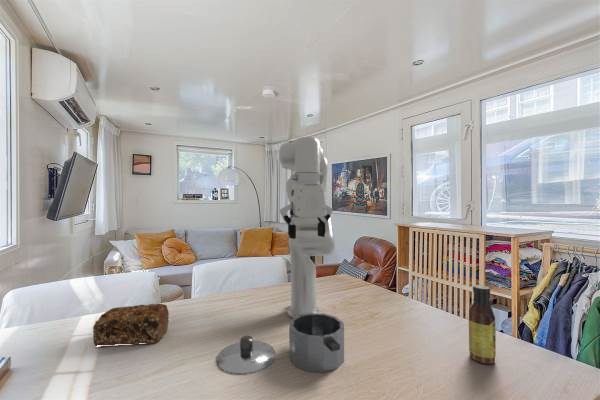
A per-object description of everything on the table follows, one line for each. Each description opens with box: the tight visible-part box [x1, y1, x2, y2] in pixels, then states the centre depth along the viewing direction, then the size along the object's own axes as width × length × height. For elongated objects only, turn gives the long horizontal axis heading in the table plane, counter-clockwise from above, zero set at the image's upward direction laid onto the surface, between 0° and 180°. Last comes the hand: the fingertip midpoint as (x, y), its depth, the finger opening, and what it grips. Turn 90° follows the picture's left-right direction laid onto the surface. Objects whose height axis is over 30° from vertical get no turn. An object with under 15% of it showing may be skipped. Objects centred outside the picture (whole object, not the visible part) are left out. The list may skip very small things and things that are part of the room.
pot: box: [288, 312, 345, 374], centre depth 81 cm, size 20×15×9 cm
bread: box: [92, 303, 170, 347], centre depth 91 cm, size 19×11×10 cm, turn 97°
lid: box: [216, 335, 276, 375], centre depth 81 cm, size 16×16×5 cm
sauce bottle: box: [468, 284, 497, 365], centre depth 79 cm, size 6×6×20 cm
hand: (307, 237), depth 85 cm, fingers open, 9 cm apart
